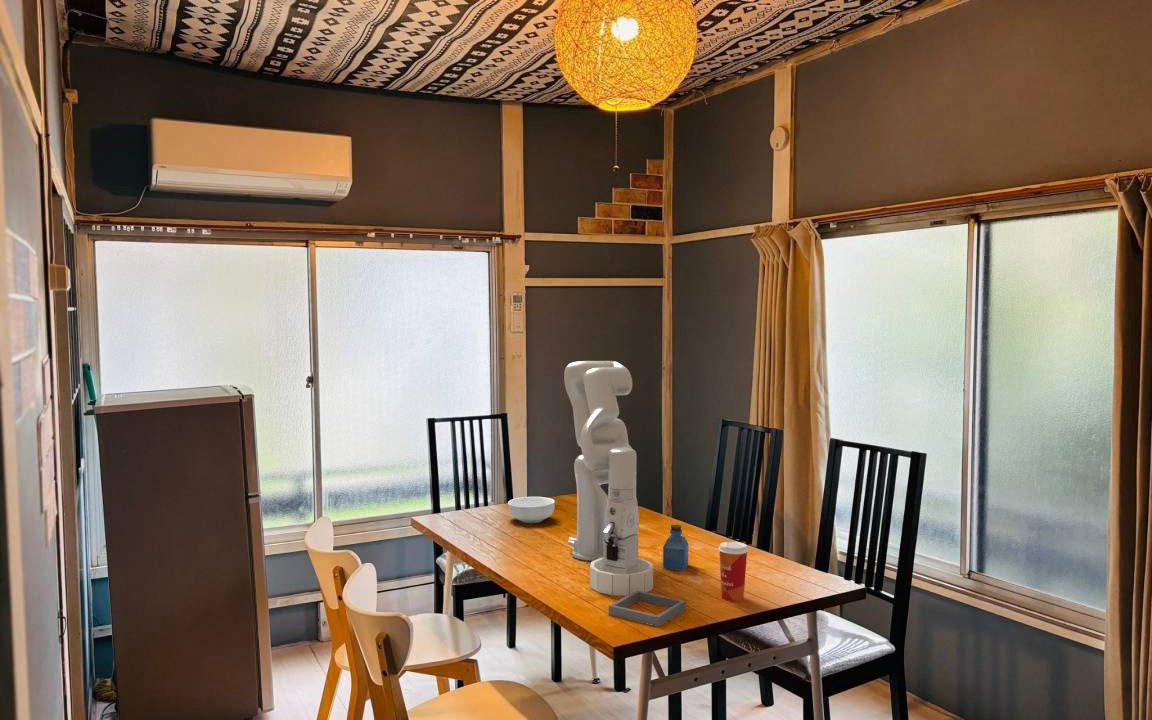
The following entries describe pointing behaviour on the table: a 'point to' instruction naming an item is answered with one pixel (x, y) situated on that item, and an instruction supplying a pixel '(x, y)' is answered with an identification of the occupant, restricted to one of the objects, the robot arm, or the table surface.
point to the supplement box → (623, 556)
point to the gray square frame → (621, 611)
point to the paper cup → (733, 570)
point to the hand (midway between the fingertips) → (621, 555)
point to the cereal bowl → (531, 508)
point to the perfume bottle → (675, 550)
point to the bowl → (621, 579)
